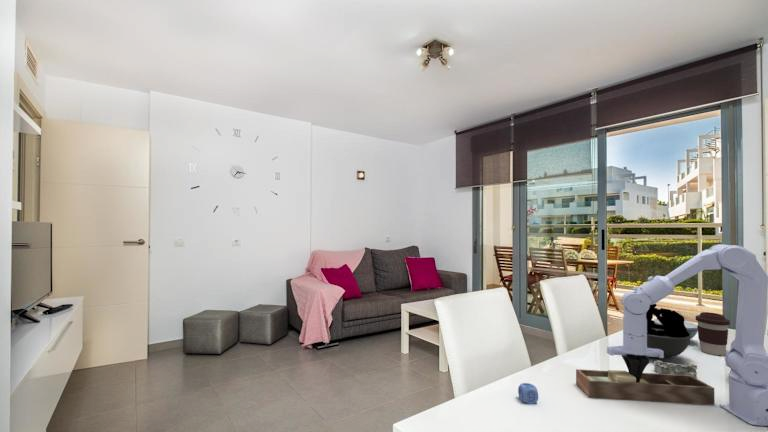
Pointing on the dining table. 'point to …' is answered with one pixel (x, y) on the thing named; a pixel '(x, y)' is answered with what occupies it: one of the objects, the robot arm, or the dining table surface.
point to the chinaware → (689, 326)
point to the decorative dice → (528, 393)
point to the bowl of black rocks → (666, 332)
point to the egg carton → (675, 368)
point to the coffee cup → (712, 333)
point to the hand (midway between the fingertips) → (635, 380)
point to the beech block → (620, 376)
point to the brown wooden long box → (646, 388)
